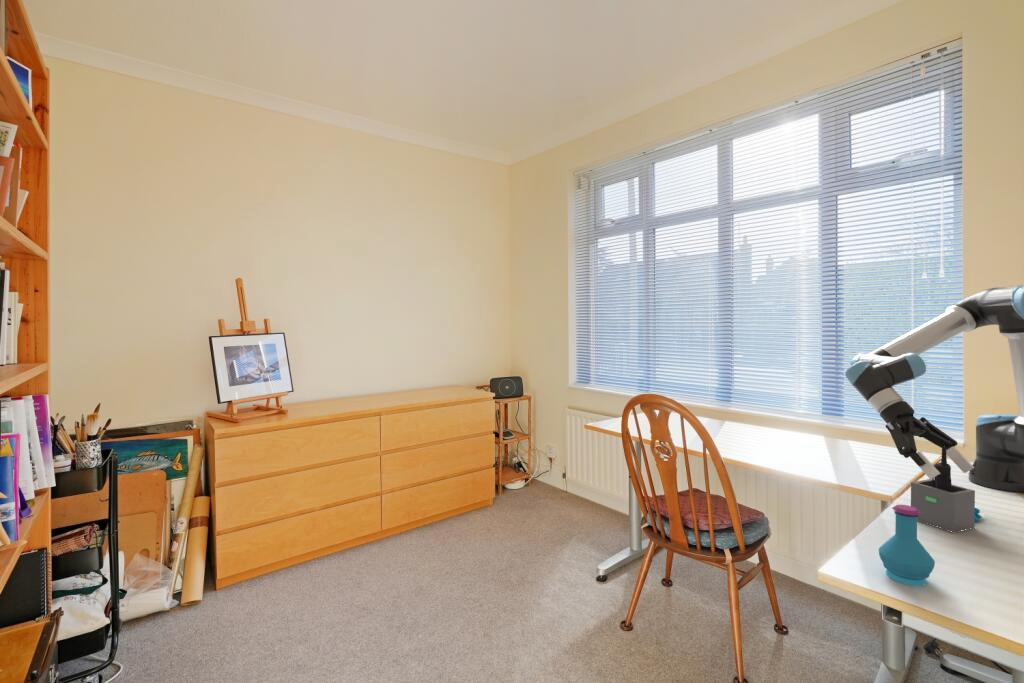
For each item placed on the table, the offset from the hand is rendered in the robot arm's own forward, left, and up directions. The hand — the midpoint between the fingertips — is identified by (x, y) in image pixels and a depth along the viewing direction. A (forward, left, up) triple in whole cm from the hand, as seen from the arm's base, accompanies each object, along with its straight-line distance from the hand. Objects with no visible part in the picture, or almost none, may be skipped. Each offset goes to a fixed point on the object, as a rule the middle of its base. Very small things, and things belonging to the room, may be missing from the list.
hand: (952, 473), depth 124 cm
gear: (-10, -3, -14) cm, 18 cm away
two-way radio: (0, -3, -8) cm, 9 cm away
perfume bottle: (+38, +13, -14) cm, 43 cm away
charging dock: (0, -2, -14) cm, 14 cm away
